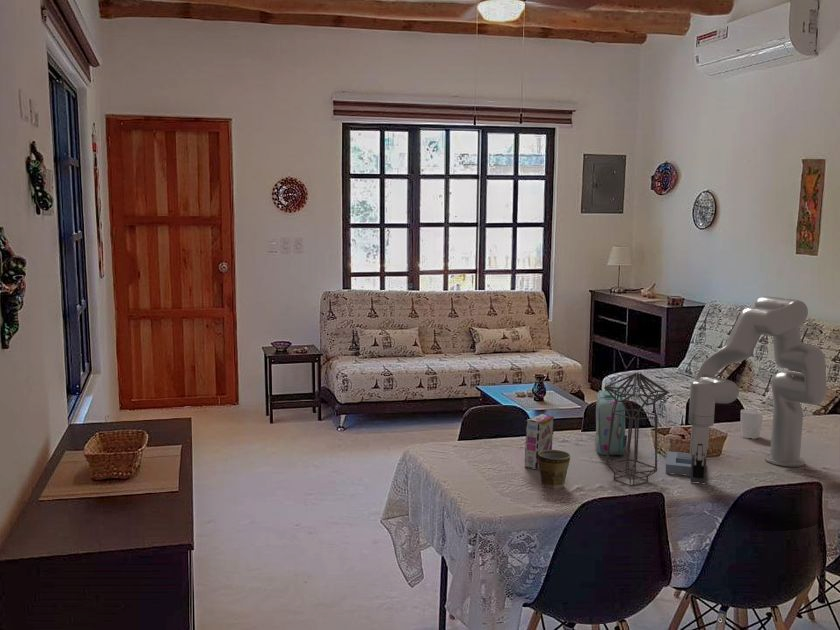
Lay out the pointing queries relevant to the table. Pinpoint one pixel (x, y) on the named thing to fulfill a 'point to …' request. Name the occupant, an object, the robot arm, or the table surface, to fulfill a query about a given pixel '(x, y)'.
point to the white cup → (751, 423)
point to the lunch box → (603, 425)
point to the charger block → (692, 479)
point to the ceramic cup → (553, 467)
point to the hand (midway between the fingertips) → (697, 474)
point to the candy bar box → (538, 438)
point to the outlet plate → (678, 463)
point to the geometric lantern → (643, 379)
